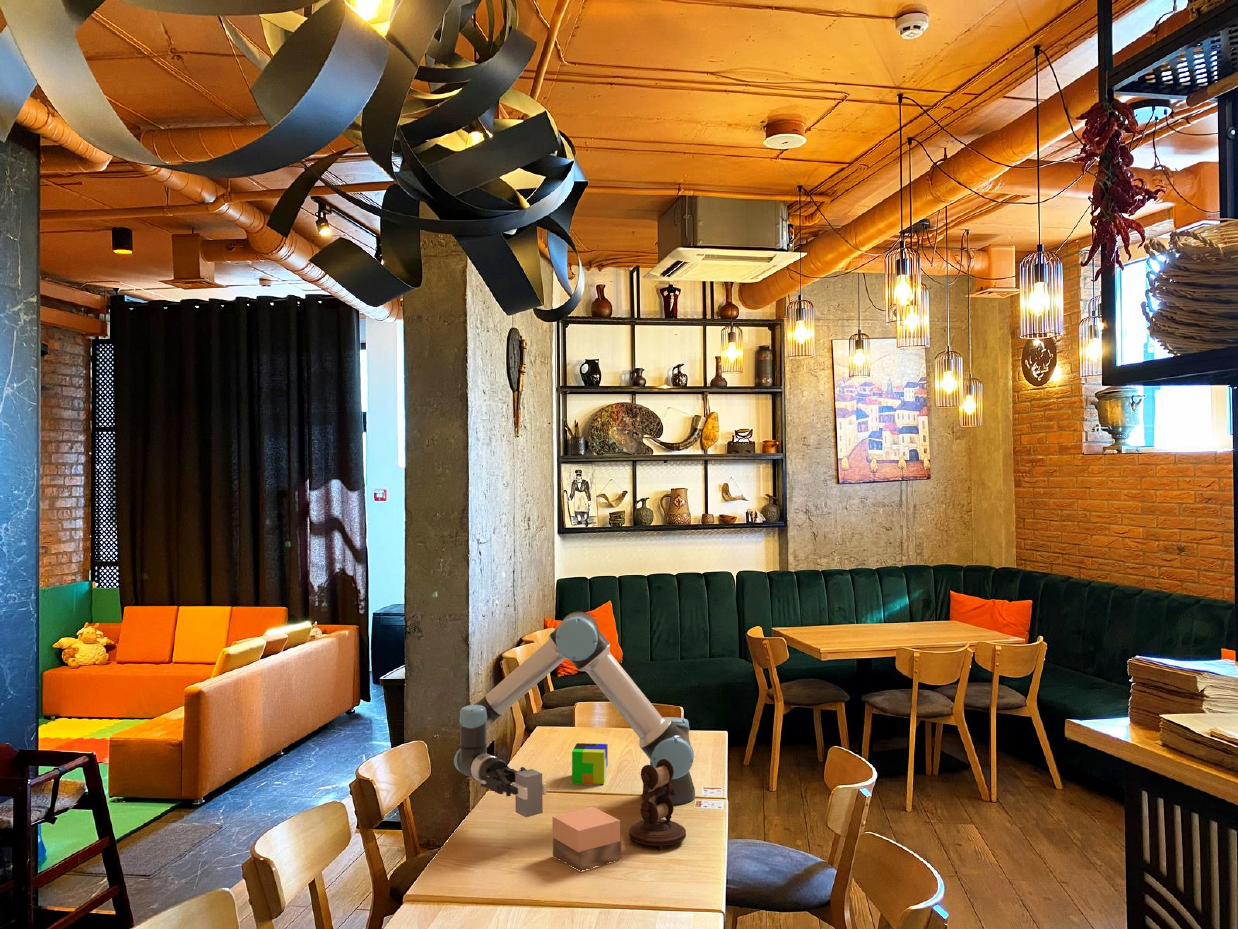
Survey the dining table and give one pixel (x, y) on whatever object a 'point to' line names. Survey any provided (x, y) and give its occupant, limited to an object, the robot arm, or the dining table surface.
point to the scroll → (657, 809)
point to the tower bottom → (587, 855)
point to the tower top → (586, 829)
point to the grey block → (530, 793)
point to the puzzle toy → (589, 763)
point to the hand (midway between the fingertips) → (535, 791)
